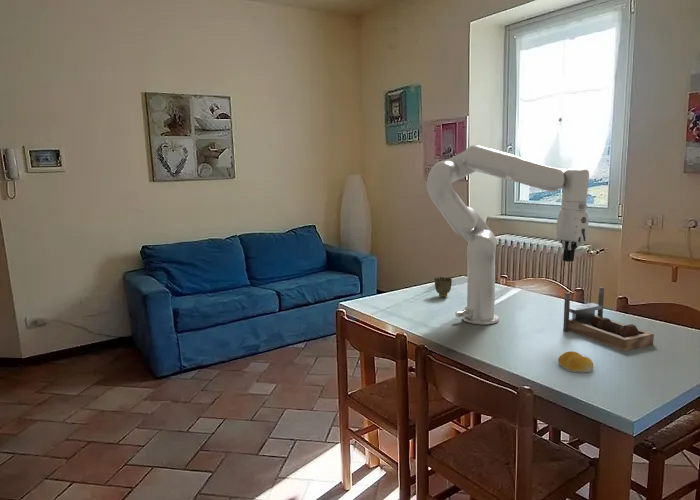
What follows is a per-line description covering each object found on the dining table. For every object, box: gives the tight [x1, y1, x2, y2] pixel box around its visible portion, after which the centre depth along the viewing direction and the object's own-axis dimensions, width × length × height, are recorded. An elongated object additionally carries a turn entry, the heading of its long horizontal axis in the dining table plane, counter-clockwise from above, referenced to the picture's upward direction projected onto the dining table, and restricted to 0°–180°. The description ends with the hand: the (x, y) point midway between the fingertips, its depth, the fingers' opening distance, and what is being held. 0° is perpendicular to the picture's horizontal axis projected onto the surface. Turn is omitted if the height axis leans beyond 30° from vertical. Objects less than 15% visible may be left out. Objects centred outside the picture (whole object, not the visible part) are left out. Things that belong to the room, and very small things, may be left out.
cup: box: [433, 276, 453, 298], centre depth 216 cm, size 8×7×8 cm
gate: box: [569, 302, 602, 324], centre depth 172 cm, size 12×4×6 cm, turn 112°
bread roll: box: [557, 350, 594, 374], centre depth 141 cm, size 8×9×4 cm
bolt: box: [591, 317, 639, 338], centre depth 162 cm, size 6×5×15 cm
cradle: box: [562, 286, 655, 352], centre depth 162 cm, size 17×22×13 cm
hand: (568, 260), depth 172 cm, fingers closed
